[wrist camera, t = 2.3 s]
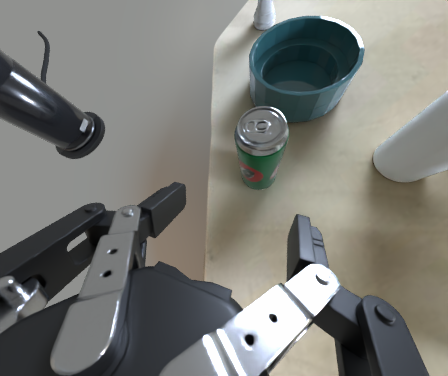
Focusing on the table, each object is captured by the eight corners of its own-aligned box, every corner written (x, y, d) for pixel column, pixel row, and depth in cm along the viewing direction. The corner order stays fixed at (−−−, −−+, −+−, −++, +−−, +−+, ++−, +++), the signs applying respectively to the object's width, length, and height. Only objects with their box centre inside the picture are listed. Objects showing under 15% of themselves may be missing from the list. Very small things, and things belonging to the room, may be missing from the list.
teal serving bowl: (233, 102, 31) (229, 72, 26) (279, 46, 33) (284, 6, 28) (312, 139, 26) (327, 112, 21) (359, 71, 29) (385, 30, 23)
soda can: (276, 190, 25) (294, 149, 14) (241, 191, 26) (232, 152, 15) (274, 159, 27) (289, 99, 15) (242, 160, 27) (233, 105, 16)
